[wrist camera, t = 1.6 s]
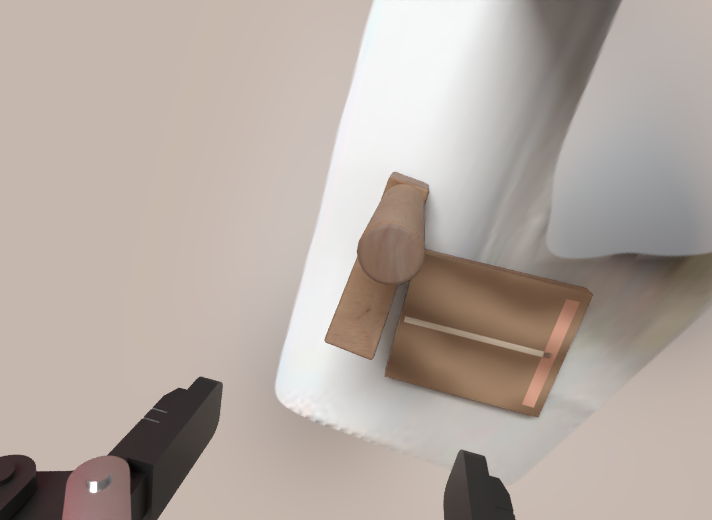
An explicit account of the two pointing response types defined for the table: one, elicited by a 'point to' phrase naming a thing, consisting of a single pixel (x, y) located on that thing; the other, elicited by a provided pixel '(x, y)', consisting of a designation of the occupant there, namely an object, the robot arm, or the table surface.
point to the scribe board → (485, 332)
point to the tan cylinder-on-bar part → (381, 266)
